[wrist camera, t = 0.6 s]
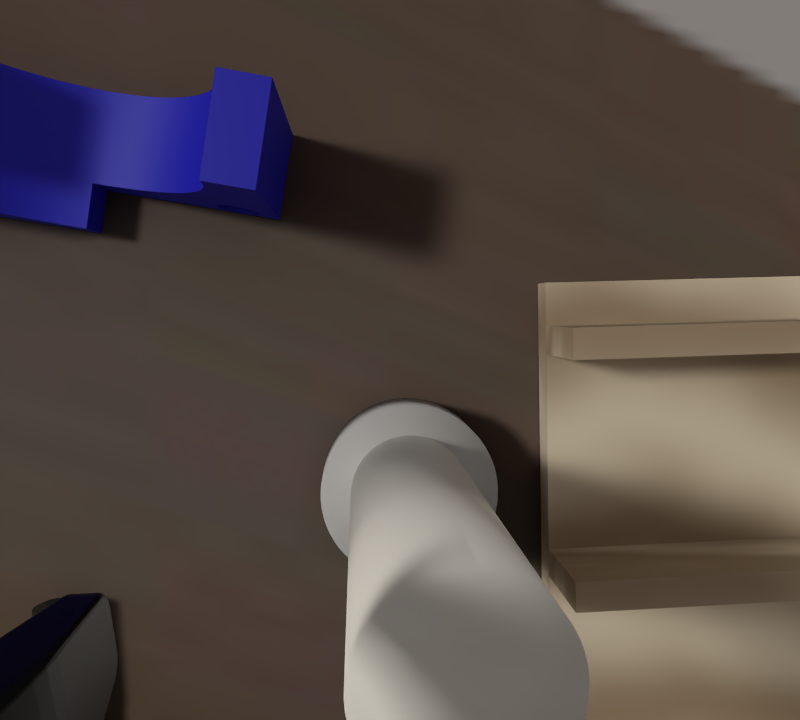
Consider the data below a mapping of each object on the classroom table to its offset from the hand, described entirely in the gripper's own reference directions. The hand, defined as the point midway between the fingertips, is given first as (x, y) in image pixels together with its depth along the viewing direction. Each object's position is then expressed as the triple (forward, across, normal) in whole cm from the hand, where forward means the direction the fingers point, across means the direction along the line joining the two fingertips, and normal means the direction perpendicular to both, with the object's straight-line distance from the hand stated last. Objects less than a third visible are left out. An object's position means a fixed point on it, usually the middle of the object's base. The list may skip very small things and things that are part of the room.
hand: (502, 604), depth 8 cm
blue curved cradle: (+19, +10, -4) cm, 22 cm away
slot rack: (+15, -11, +9) cm, 21 cm away
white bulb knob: (+16, 0, +6) cm, 17 cm away
